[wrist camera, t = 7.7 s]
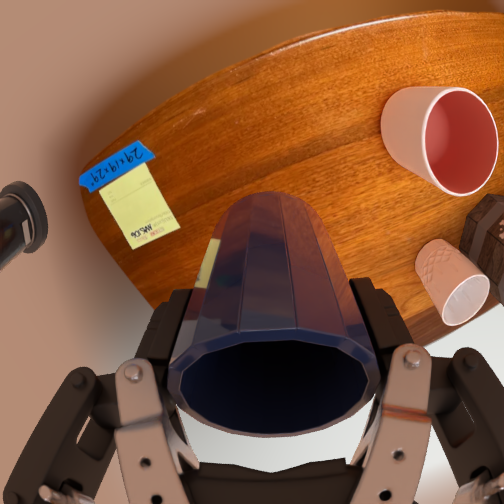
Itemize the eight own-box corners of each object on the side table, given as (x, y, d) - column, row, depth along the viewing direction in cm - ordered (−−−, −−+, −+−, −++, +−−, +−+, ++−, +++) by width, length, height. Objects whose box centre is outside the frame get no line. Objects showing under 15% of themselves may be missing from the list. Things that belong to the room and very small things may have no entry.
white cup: (452, 271, 35) (484, 311, 26) (411, 287, 37) (439, 334, 28) (453, 227, 31) (493, 265, 23) (409, 244, 33) (444, 288, 24)
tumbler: (223, 293, 16) (197, 435, 9) (204, 196, 14) (133, 329, 6) (324, 286, 16) (357, 428, 8) (327, 187, 13) (405, 314, 5)
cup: (367, 154, 28) (408, 178, 19) (386, 73, 23) (434, 67, 14) (433, 178, 28) (481, 208, 20) (452, 107, 23) (506, 117, 15)
